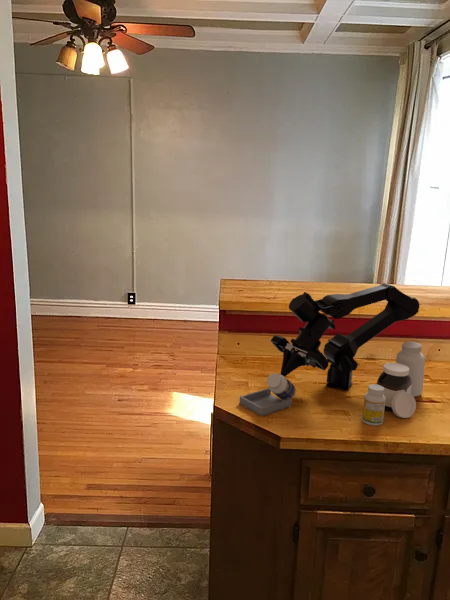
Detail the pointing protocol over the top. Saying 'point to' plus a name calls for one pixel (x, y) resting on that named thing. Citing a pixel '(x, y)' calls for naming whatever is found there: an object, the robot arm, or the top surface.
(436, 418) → the top surface
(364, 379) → the top surface
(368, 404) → the supplement bottle
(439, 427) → the top surface
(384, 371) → the spread jar
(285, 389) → the pill bottle
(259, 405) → the tray
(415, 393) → the pill bottle
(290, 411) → the top surface
